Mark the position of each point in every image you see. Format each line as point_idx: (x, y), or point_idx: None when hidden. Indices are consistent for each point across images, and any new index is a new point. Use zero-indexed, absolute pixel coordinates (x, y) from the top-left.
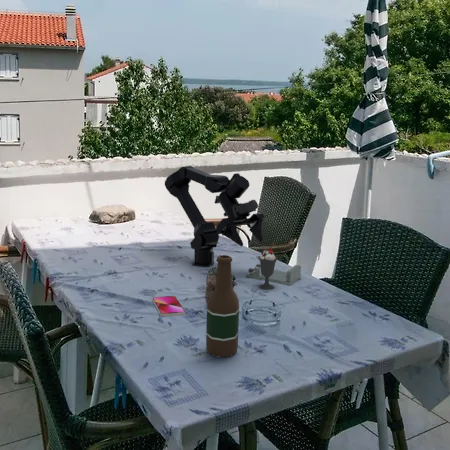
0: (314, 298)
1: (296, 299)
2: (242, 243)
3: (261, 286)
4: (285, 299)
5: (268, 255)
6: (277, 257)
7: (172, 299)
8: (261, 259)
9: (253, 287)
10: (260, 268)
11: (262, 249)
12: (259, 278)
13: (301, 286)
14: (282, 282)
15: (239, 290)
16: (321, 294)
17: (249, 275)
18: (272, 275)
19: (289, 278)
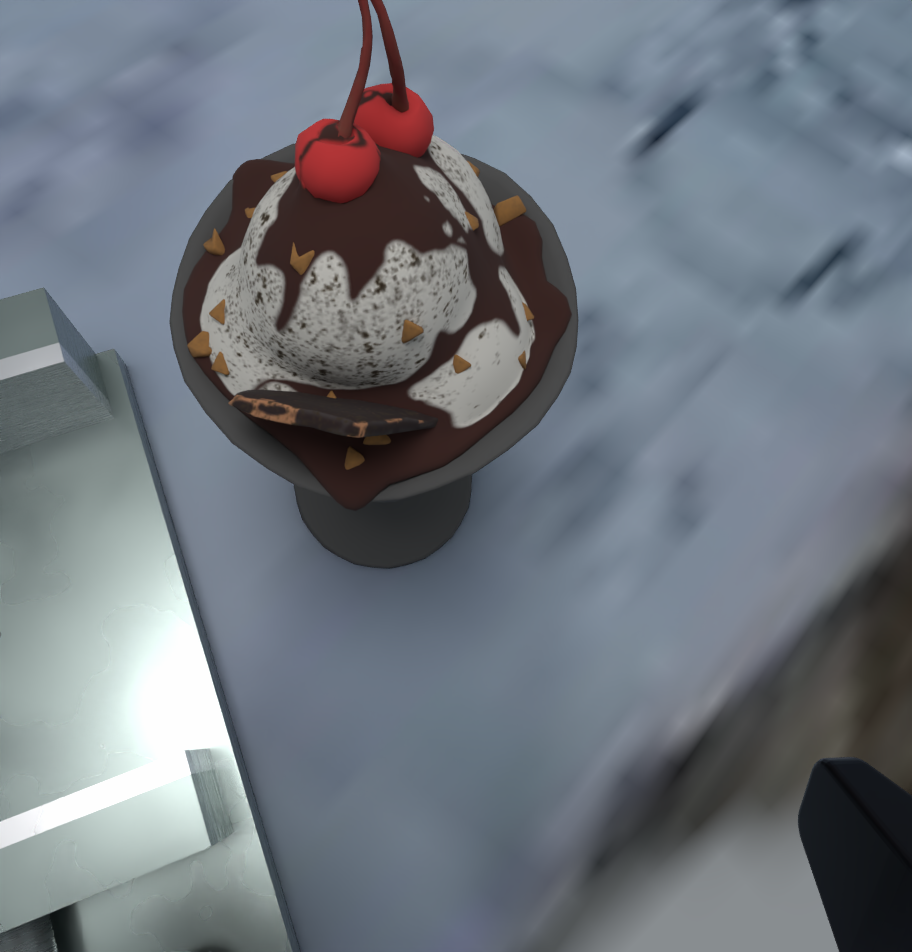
0: (254, 8)
1: (410, 81)
2: (871, 784)
3: (449, 497)
4: (495, 135)
5: (466, 168)
6: (214, 205)
7: None
8: (564, 294)
9: (521, 560)
10: (147, 802)
11: (352, 420)
12: (238, 749)
13: (49, 270)
14: (144, 439)
15: (725, 578)
16: (107, 27)
17: (283, 916)
18: (42, 681)
19: (83, 346)
